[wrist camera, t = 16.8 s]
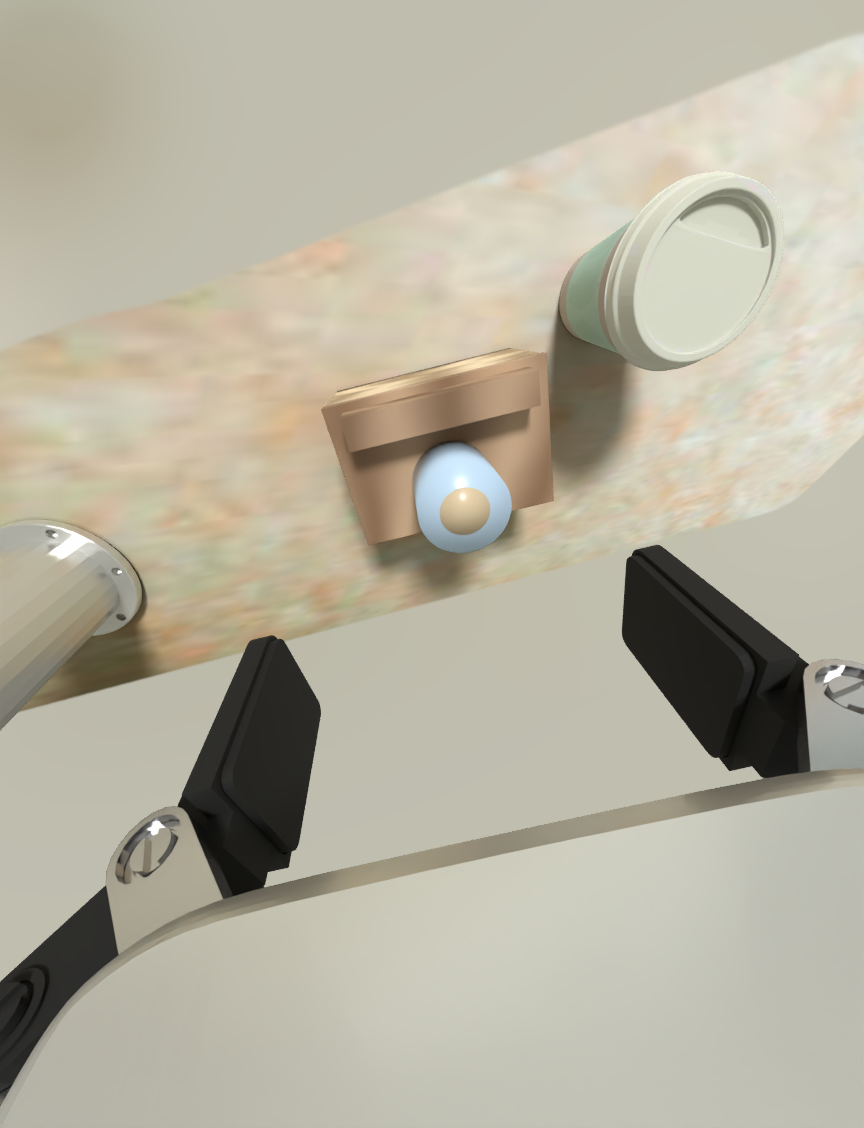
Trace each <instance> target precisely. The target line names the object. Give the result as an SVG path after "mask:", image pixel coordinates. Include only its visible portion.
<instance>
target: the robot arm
mask: <svg viewBox="0 0 864 1128" xmlns="http://www.w3.org/2000/svg"><path fill="white" fill-rule="evenodd" d="M624 593H625V594H624V607H623V623H622V636H623V640H624V642H625V644H626V645H627V647H628V648H629V650H630V651H631V652H632V653H633V655H634V656H635V658H636V659H637V660H638V661H639V663H640V664H641V665H642V667H643V668H644V669H645V671H646V672H647V673H648V675H649V676H650V677H651V679H652V680H653V681H654V683H655V684H656V685H657V686H658V688H659V689H660V690H661V692H662V693H663V694H664V696H665V697H666V698H667V700H668V701H669V702H670V704H671V705H672V706H673V707H674V709H675V710H676V712H677V713H678V714H679V716H680V717H681V718H682V720H683V721H684V722H685V723H686V725H687V726H688V727H689V729H690V730H691V731H692V733H693V734H694V735H695V737H696V738H697V739H698V740H699V742H700V743H701V745H702V746H703V747H704V749H705V750H706V751H707V752H708V753H709V754H710V755H711V756H712V757H714V758H718V757H719V758H720V760H721V761H722V762H723V764H725V766H726V767H727V769H728V770H729V771H732V770H737V769H741V768H746V767H750V766H753V768H754V769H755V770H756V771H757V772H758V773H759V775H760V776H761V777H763V779H762V780H756V781H751V782H746V783H741V784H736V785H730V786H725V787H720V788H715V789H710V790H705V791H700V792H695V793H690V794H685V795H680V796H676V797H671V798H666V799H662V800H657V801H652V802H647V803H643V804H638V805H633V806H629V807H624V808H619V809H614V810H610V811H605V812H600V813H596V814H591V815H587V816H582V817H577V818H572V819H568V820H563V821H558V822H554V823H549V824H545V825H540V826H536V827H531V828H526V829H522V830H517V831H512V832H508V833H503V834H499V835H494V836H489V837H485V838H480V839H476V840H471V841H467V842H462V843H457V844H453V845H448V846H444V847H440V848H435V849H430V850H426V851H422V852H417V853H413V854H408V855H403V856H399V857H394V858H391V859H386V860H381V861H377V862H372V863H368V864H363V865H359V866H354V867H350V868H345V869H341V870H337V871H332V872H327V873H323V874H319V875H315V876H311V877H307V878H302V879H298V880H294V881H290V882H286V883H282V884H278V885H274V886H270V887H265V888H264V885H265V882H266V877H267V873H268V872H270V871H275V870H279V869H284V868H288V867H289V862H290V857H291V852H292V851H294V850H296V848H297V846H298V843H299V839H300V834H301V828H302V821H303V816H304V810H305V804H306V798H307V792H308V787H309V781H310V775H311V769H312V763H313V757H314V751H315V746H316V740H317V734H318V728H319V722H320V716H321V709H320V704H319V702H318V700H317V698H316V696H315V694H314V693H313V691H312V689H311V688H310V686H309V684H308V682H307V680H306V679H305V677H304V675H303V673H302V672H301V670H300V668H299V666H298V665H297V663H296V661H295V659H294V658H293V656H292V654H291V652H290V651H289V649H288V647H287V645H286V644H285V642H284V641H283V640H282V639H277V638H276V637H275V636H267V637H263V638H258V639H254V640H251V641H250V642H249V643H248V645H247V647H246V650H245V652H244V654H243V657H242V659H241V661H240V663H239V666H238V668H237V670H236V673H235V675H234V677H233V679H232V682H231V684H230V686H229V688H228V691H227V693H226V695H225V697H224V700H223V702H222V704H221V707H220V709H219V711H218V713H217V716H216V718H215V720H214V722H213V725H212V727H211V729H210V731H209V734H208V736H207V738H206V740H205V743H204V745H203V747H202V750H201V752H200V754H199V756H198V759H197V761H196V763H195V765H194V768H193V770H192V772H191V775H190V777H189V779H188V781H187V784H186V786H185V788H184V791H183V793H182V797H181V799H180V802H179V804H178V806H177V807H176V806H173V807H165V808H163V809H160V810H158V811H156V812H154V813H152V814H150V815H149V816H147V817H146V818H144V819H143V820H142V821H140V822H139V823H138V824H137V825H136V826H135V827H134V828H133V829H132V830H131V831H130V832H129V833H128V834H127V835H126V836H125V838H124V839H123V840H122V841H121V843H120V844H119V846H118V847H117V849H116V851H115V852H114V854H113V856H112V857H111V860H110V863H109V865H108V868H107V871H106V886H105V887H103V888H102V889H101V890H100V891H99V892H98V893H97V894H96V895H95V896H94V897H93V898H91V899H90V900H89V901H88V902H87V903H86V904H85V905H84V906H83V907H82V908H80V909H79V910H78V911H77V912H76V913H75V914H74V915H73V916H72V917H71V918H69V919H68V920H67V921H66V922H65V923H64V924H63V925H62V926H61V927H60V928H59V929H58V930H56V931H55V932H54V933H53V934H52V935H51V936H50V937H49V938H48V939H46V940H45V941H44V942H43V943H42V944H41V945H40V946H39V947H38V948H37V949H36V950H34V951H33V952H32V953H31V954H30V955H29V956H28V957H27V958H26V959H25V960H23V961H22V962H21V963H20V964H19V965H18V966H17V967H16V968H15V969H14V970H13V971H12V972H10V973H9V974H8V975H7V976H6V977H5V978H4V979H3V980H2V981H1V982H0V1128H864V665H863V664H860V663H857V662H853V661H846V660H839V659H829V660H820V661H817V662H813V663H811V664H810V665H809V664H808V663H806V662H805V661H804V660H803V659H801V658H800V657H799V654H797V653H796V652H795V651H793V650H792V649H791V648H790V647H789V646H787V645H786V644H785V643H783V642H782V641H781V640H780V639H778V638H777V637H776V636H775V635H773V634H772V633H770V631H768V630H767V629H765V628H764V627H763V626H762V625H761V624H759V623H758V622H757V621H756V620H754V619H753V618H752V617H751V616H749V615H748V614H747V613H745V612H744V611H743V610H742V609H740V608H739V607H738V606H737V605H735V604H734V603H733V602H731V601H730V600H729V599H728V598H726V597H725V596H724V595H723V594H721V593H720V592H719V591H718V590H716V589H715V588H714V587H713V586H711V585H710V584H708V583H707V582H706V581H705V580H704V579H702V578H701V577H700V576H699V575H697V574H696V573H695V572H694V571H692V570H691V569H690V568H688V567H687V566H686V565H685V564H683V563H682V562H681V561H680V560H678V559H677V558H676V557H674V556H673V555H672V554H671V553H669V552H668V551H667V550H666V549H664V548H663V547H662V546H660V545H655V546H650V547H646V548H641V549H637V550H635V551H634V552H633V553H632V556H631V557H629V558H628V559H627V562H626V577H625V592H624ZM141 602H142V589H141V584H140V581H139V579H138V577H137V574H136V572H135V571H134V569H133V568H132V566H131V565H130V563H129V562H128V561H127V560H126V559H125V558H124V557H123V556H122V555H121V554H120V553H119V552H118V551H117V550H116V549H115V548H113V547H112V546H111V545H109V544H108V543H107V542H105V541H104V540H102V539H100V538H99V537H97V536H95V535H94V534H92V533H89V532H87V531H85V530H83V529H80V528H78V527H75V526H72V525H68V524H65V523H62V522H56V521H50V520H36V519H29V520H22V521H16V522H13V523H10V524H8V525H5V526H3V527H1V528H0V730H1V729H2V728H3V727H4V726H5V725H6V724H7V723H8V722H9V721H10V720H11V719H12V718H13V717H14V716H15V715H16V714H17V713H18V712H19V711H20V710H21V709H22V707H23V706H24V705H25V704H26V703H27V702H28V701H29V700H30V699H31V698H32V697H33V696H34V695H35V694H36V693H37V692H38V691H39V690H40V689H41V688H42V687H43V686H44V685H45V684H46V683H47V682H48V680H49V679H50V678H51V677H52V676H53V675H54V674H55V673H56V672H57V671H58V670H59V669H60V668H61V667H62V666H63V665H64V664H65V663H66V662H67V661H68V660H69V659H70V658H71V657H72V656H73V654H74V653H75V652H76V651H77V650H78V649H79V648H80V647H81V646H82V645H83V644H84V643H85V642H86V641H87V640H88V639H89V638H90V637H91V636H97V635H103V634H108V633H111V632H114V631H116V630H118V629H120V628H121V627H123V626H125V625H126V624H127V623H128V622H129V621H130V620H131V619H132V618H133V617H134V615H135V614H136V613H137V611H138V610H139V607H140V605H141Z"/></svg>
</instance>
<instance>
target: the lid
mask: <svg viewBox="0 0 864 1128" xmlns="http://www.w3.org/2000/svg"><path fill="white" fill-rule="evenodd" d="M321 411H322V414H323V416H324V419H325V422H326V425H327V428H328V431H329V434H330V437H331V439H332V442H333V445H334V448H335V451H336V454H337V457H338V459H339V462H340V465H341V468H342V471H343V474H344V477H345V480H346V482H347V485H348V488H349V491H350V494H351V497H352V500H353V503H354V505H355V508H356V511H357V514H358V517H359V520H360V523H361V525H362V528H363V531H364V534H365V537H366V540H367V543H368V545H372V544H376V543H380V542H384V541H389V540H393V539H397V538H401V537H405V536H409V535H414V534H418V533H422V530H421V528H420V525H419V521H418V515H417V509H416V503H415V497H414V491H413V486H412V477H413V471H414V468H415V465H416V463H417V462H418V460H419V458H420V457H421V456H422V455H423V454H424V452H426V451H427V450H428V449H429V448H431V447H432V446H434V445H436V444H438V443H441V442H444V441H452V440H456V441H463V442H466V443H469V444H471V445H473V446H474V447H476V448H477V449H478V450H479V451H480V452H481V453H482V454H483V455H484V456H485V458H486V459H487V460H488V462H489V463H490V464H491V465H492V467H493V468H494V469H495V471H496V472H497V473H498V475H499V476H500V477H501V478H502V480H503V481H504V482H505V484H506V486H507V488H508V489H509V492H510V496H511V502H512V508H511V511H514V510H518V509H522V508H526V507H530V506H534V505H539V504H543V503H547V502H551V501H554V495H553V474H552V454H551V434H550V413H549V393H548V373H547V353H538V354H534V355H530V356H526V357H522V358H518V359H514V360H510V361H506V362H502V363H498V364H494V365H490V366H486V367H482V368H478V369H474V370H470V371H466V372H462V373H458V374H454V375H450V376H446V377H442V378H438V379H434V380H430V381H426V382H422V383H418V384H414V385H410V386H406V387H402V388H398V389H394V390H390V391H386V392H382V393H378V394H374V395H370V396H366V397H362V398H358V399H354V400H350V401H346V402H342V403H338V404H334V405H330V406H326V407H323V408H322V409H321Z"/></svg>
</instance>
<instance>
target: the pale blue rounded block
mask: <svg viewBox="0 0 864 1128" xmlns="http://www.w3.org/2000/svg"><path fill="white" fill-rule="evenodd" d="M412 486H413V491H414V497H415V503H416V509H417V515H418V521H419V525H420V528H421V530H422V532H423V534H424V535H425V537H426V538H427V539H428V540H429V541H430V542H431V543H432V544H434V545H435V546H437V547H438V548H440V549H442V550H445V551H448V552H453V553H468V552H473V551H476V550H479V549H482V548H484V547H486V546H487V545H489V544H490V543H492V542H493V541H494V540H495V539H497V538H498V537H499V535H500V534H501V533H502V532H503V530H504V529H505V527H506V525H507V523H508V521H509V518H510V515H511V508H512V502H511V496H510V492H509V489H508V488H507V486H506V484H505V482H504V481H503V480H502V478H501V477H500V476H499V475H498V473H497V472H496V471H495V469H494V468H493V467H492V465H491V464H490V463H489V462H488V460H487V459H486V458H485V456H484V455H483V454H482V453H481V452H480V451H479V450H478V449H477V448H476V447H474V446H473V445H471V444H469V443H466V442H463V441H456V440H452V441H444V442H441V443H438V444H436V445H434V446H432V447H431V448H429V449H428V450H427V451H426V452H424V454H423V455H422V456H421V457H420V458H419V460H418V462H417V463H416V465H415V468H414V471H413V477H412Z"/></svg>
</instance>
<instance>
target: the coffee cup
mask: <svg viewBox="0 0 864 1128" xmlns="http://www.w3.org/2000/svg"><path fill="white" fill-rule="evenodd" d="M783 247H784V225H783V218H782V214H781V211H780V208H779V205H778V203H777V201H776V199H775V198H774V196H773V194H772V193H771V192H770V191H769V190H768V188H766V187H765V186H764V185H763V184H762V183H760V182H758V181H756V180H754V179H752V178H748V177H745V176H740V175H738V174H735V173H731V172H724V171H714V172H708V173H700V174H695V175H692V176H689V177H686V178H683V179H681V180H679V181H677V182H675V183H673V184H672V185H670V186H668V187H667V188H665V189H664V190H663V191H661V192H660V193H659V194H657V195H656V196H655V197H654V198H653V199H652V200H651V201H650V202H649V203H648V204H647V205H646V206H645V207H644V208H643V209H642V210H641V211H640V212H639V214H638V215H637V216H636V217H635V218H634V219H633V220H632V221H630V222H629V223H627V224H626V225H625V226H623V227H622V228H620V229H619V230H618V231H616V232H615V233H613V234H612V235H611V236H609V237H608V238H606V239H605V240H604V241H602V242H601V243H599V244H598V245H597V246H595V247H594V248H592V249H591V250H590V251H588V252H587V253H586V254H584V255H583V256H582V257H581V258H579V259H578V260H577V261H576V262H575V264H574V265H573V266H572V267H571V269H570V270H569V272H568V274H567V275H566V277H565V280H564V282H563V285H562V288H561V292H560V299H559V309H560V315H561V319H562V321H563V324H564V326H565V327H566V329H567V330H568V331H569V332H570V333H571V334H572V335H573V336H575V337H576V338H579V339H581V340H584V341H586V342H589V343H591V344H594V345H596V346H599V347H602V348H604V349H607V350H610V351H612V352H615V353H617V354H620V355H622V356H623V357H624V358H625V359H626V360H627V361H628V362H630V363H631V364H633V365H635V366H637V367H639V368H642V369H645V370H651V371H666V370H671V369H678V368H682V367H685V366H688V365H691V364H693V363H696V362H698V361H700V360H701V359H703V358H706V357H708V356H710V355H713V354H714V353H716V352H718V351H720V350H721V349H723V348H724V347H726V346H727V345H728V344H730V343H731V342H732V341H733V340H735V339H736V338H737V337H738V336H739V335H740V334H741V333H742V332H743V331H744V330H745V329H746V328H747V327H748V325H749V324H750V323H751V322H752V321H753V319H754V318H755V317H756V315H757V314H758V312H759V311H760V310H761V308H762V306H763V305H764V303H765V301H766V299H767V298H768V296H769V294H770V292H771V290H772V287H773V285H774V282H775V280H776V277H777V274H778V271H779V268H780V264H781V260H782V254H783Z"/></svg>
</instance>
